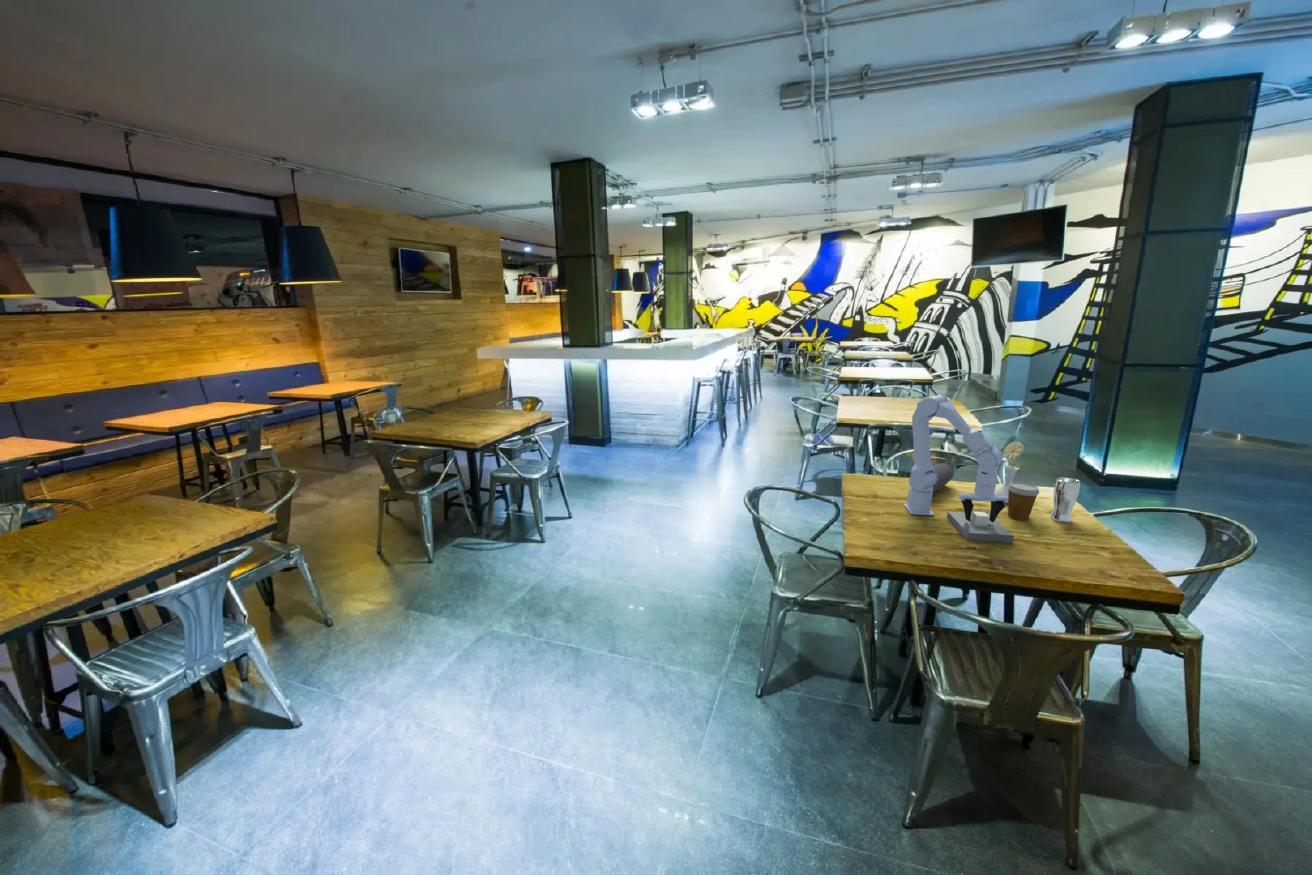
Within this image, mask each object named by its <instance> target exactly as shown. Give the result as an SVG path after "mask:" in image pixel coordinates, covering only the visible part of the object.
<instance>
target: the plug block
mask: <svg viewBox="0 0 1312 875" xmlns="http://www.w3.org/2000/svg"><path fill="white" fill-rule="evenodd" d="M971 513H972V516H971V522H970V523H971V524H972V525H973V526H986V527H988V524H989V519H990V516H989V515H988V514H989V513H986V512H985V511H977V510H976V511H973V510H972V512H971Z"/></svg>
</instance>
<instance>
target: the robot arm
mask: <svg viewBox="0 0 1312 875" xmlns="http://www.w3.org/2000/svg"><path fill="white" fill-rule="evenodd" d="M916 406H917V407H916V409H915V410H914V412H913V414H912V416H911V418H912V419H911V424H912V440H913V458H914V460H913V461H914V465H913V467H912V468H911V470H910V477H909V479H908V484H909V485H910V487H909V489H908V492H907V497H906V498H907V500H906V503H904V504H903V505H904V507H905V508H906V509H907V511H908V512H909V513H910V514H911V515H917V516H919V515H922V516H935V513H934V512H932V510H931V507H932V499H933V494H934V493H933V485H935V484H936V482H937V480H938V478H937V475H936V473H935V470H934V465H933V464H932V460H931V459H932V458H931V441H930V440H931V438H930V423H929V422H930V421H931V420H933V418H934V417H936V418H942V419H945V420H947V421H948V423H950V424H951V425H952V426H953V427H954V428H955V429H956V430H957V432H958V433H960V434H961V435H962V442H963V443H964V444H965V445H966V446H967V448H968V449H969V450H970V451H971V452H972V453H973V455H974V456H976V462H977V464H978V469H977V473H976V478H975V480H976V481H975V486H974V492H967V493H962V492H961V493H959V494H958V499H959V500H960V502H961V504H962V507H963V510H964V512H965V519H966V520H967V521H970V519H971V513H972V511H973V508H974V506H975V504H974V503H973V501H974V502H989V503H990V512H989V514H990V519H989V520H990V521H991V522H994V521H995V519H996V520H997V517H998V516H999V514H1000V513H1001V511H1002V510H1004V509H1005V507H1006V504H1008V503H1007V502H1008V497H1007V496H1002V495H995V494H994V492H995V489H996V486H997V480H998V474H999V468H1000V466H999V465H1000V463H1001V462H1003V459H1004V456H1003V454H1004V453H1002V451H1001V449H1000V448H998V447H995V446H994V445H993V444H991V443H990V442H989V440H988V439H986V438H985V437H984V436H985V434H984V432H980V431H979V430H976V429H975V430H974V429H972V427H970V425H969V424H968V423H967V421H965V419H964V417H963V416H962V415H961V414H960V413H959V412H958V410H957V409H956V408H955V406H954V403H953V402H951V401H950V400H949V399H948V397H947V396H946V395H943V394H936V395H932V396H927V397H924V398H922V399H921V400H920V401H918V402H917V404H916ZM932 493H933V494H932Z"/></svg>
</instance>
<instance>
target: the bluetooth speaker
mask: <svg viewBox="0 0 1312 875" xmlns="http://www.w3.org/2000/svg"><path fill="white" fill-rule="evenodd" d="M933 466H934V470H935V473H936V475H937V478H938V480H937V482H936V484H935V485H933V494H934V493H936V492H937V491H938V490H940V489H943V487H944V486H946V485H947V484H948V483H949V482H950V481H952V479H953V477H954V470H953V468H952V467H951V465H949V464H947V463H944V462H942V463H936V464H934V465H933Z"/></svg>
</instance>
